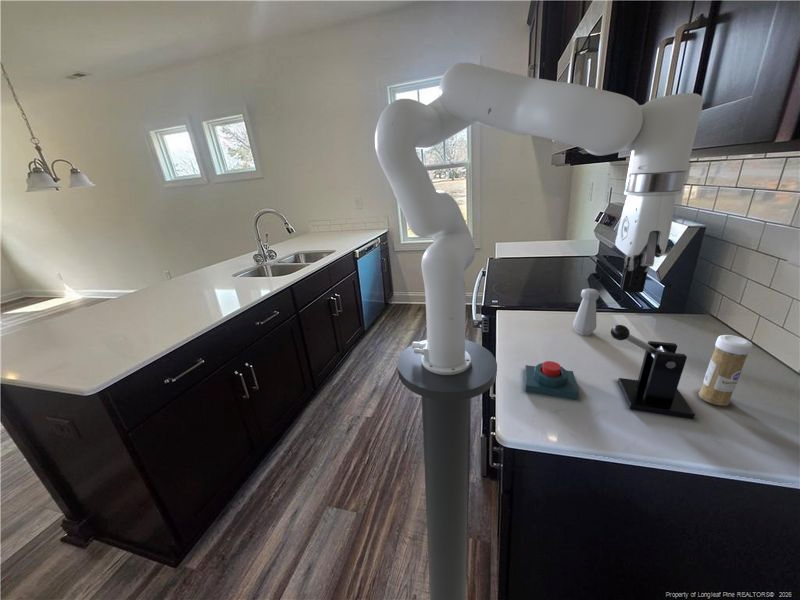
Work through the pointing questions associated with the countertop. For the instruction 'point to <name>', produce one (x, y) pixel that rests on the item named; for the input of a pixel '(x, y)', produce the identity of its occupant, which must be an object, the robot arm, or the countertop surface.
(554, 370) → the stop button
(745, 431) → the countertop surface
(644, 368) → the switch bracket
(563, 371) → the stop block
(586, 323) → the salt shaker
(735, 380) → the sprinkles bottle
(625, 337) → the switch lever
